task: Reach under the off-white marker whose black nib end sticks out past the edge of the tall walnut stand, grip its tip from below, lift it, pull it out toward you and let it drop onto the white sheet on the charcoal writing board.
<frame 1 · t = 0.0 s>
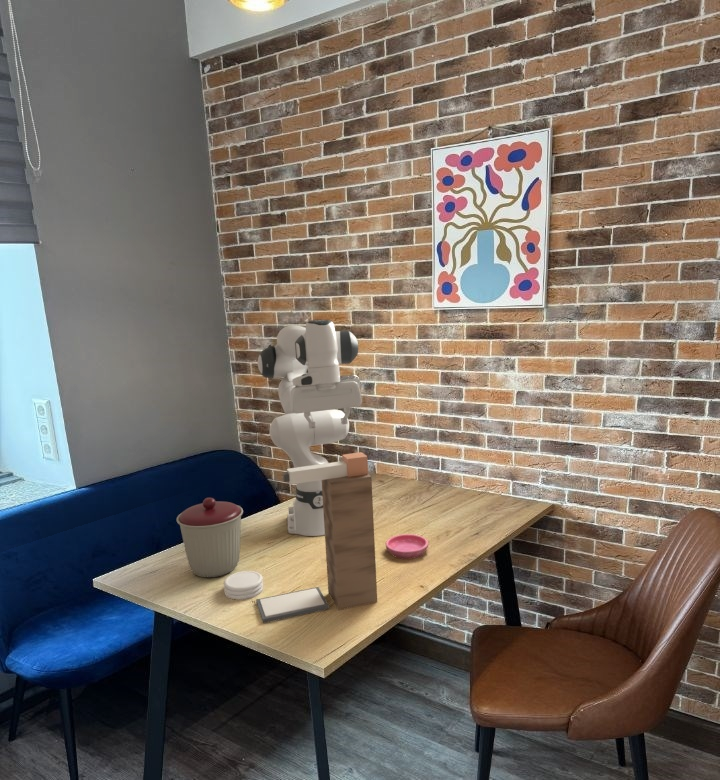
hand: (328, 426, 167), 39 cm above the table, tool pointing down, fingers open, 8 cm apart
walnut stand: (352, 597, 149), on the table
marker: (345, 474, 144), point 32 cm above the table, touching walnut stand
saucer: (407, 552, 174), on the table
writing board: (292, 606, 146), on the table
coaster: (244, 592, 155), on the table
canister: (215, 570, 168), on the table
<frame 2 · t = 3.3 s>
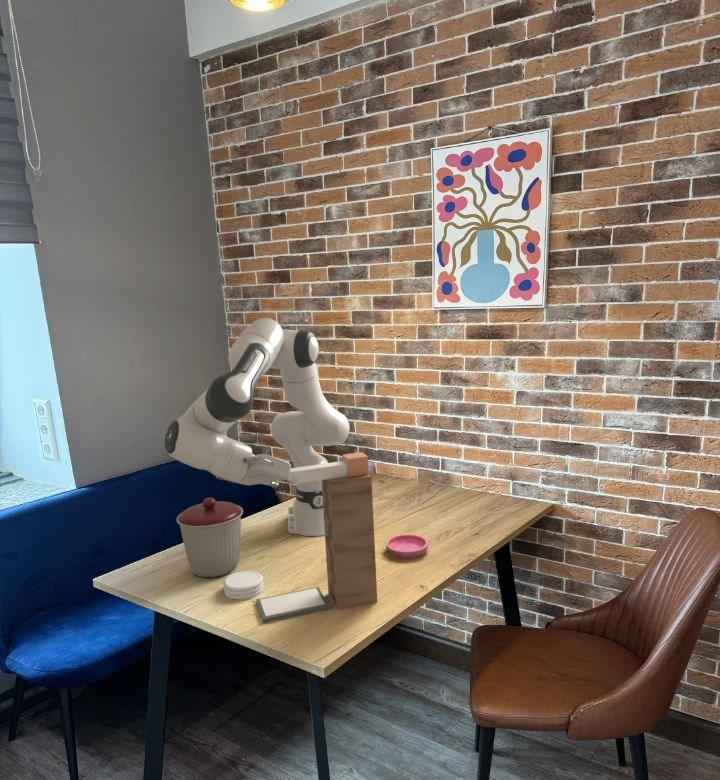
hand: (286, 482, 140), 32 cm above the table, tool tilted 60°, fingers open, 8 cm apart
nothing on the table moved.
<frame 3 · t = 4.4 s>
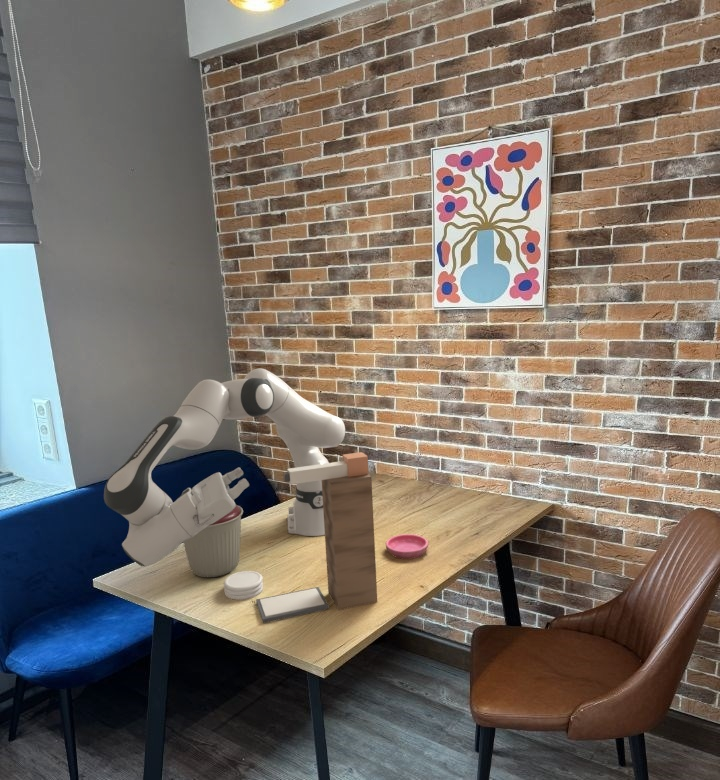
hand: (244, 475, 136), 35 cm above the table, tool pointing upward, fingers open, 8 cm apart
nothing on the table moved.
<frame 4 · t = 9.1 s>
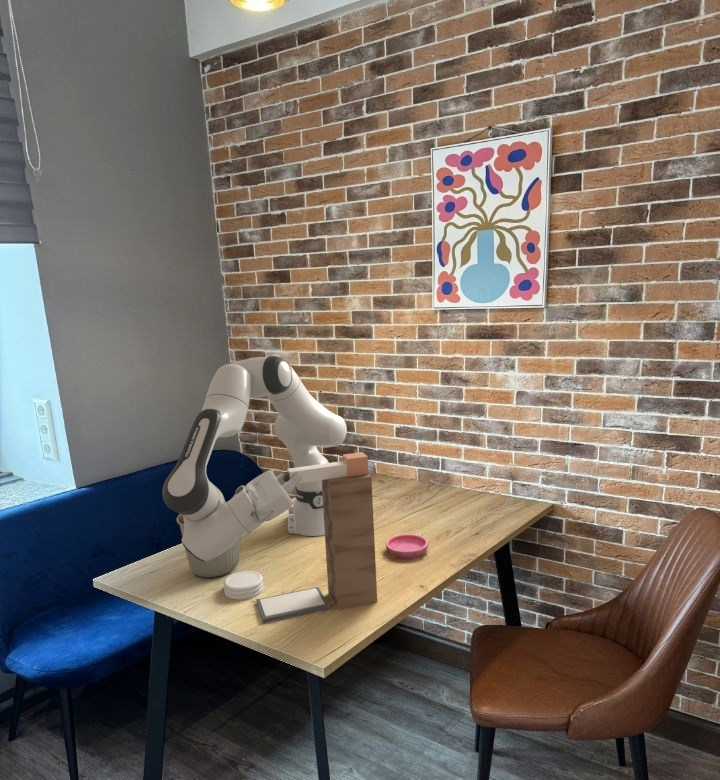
hand: (297, 473, 140), 34 cm above the table, tool pointing upward, fingers closed on marker, 3 cm apart
marker: (346, 474, 144), point 32 cm above the table, touching gripper, walnut stand
everything else where it was.
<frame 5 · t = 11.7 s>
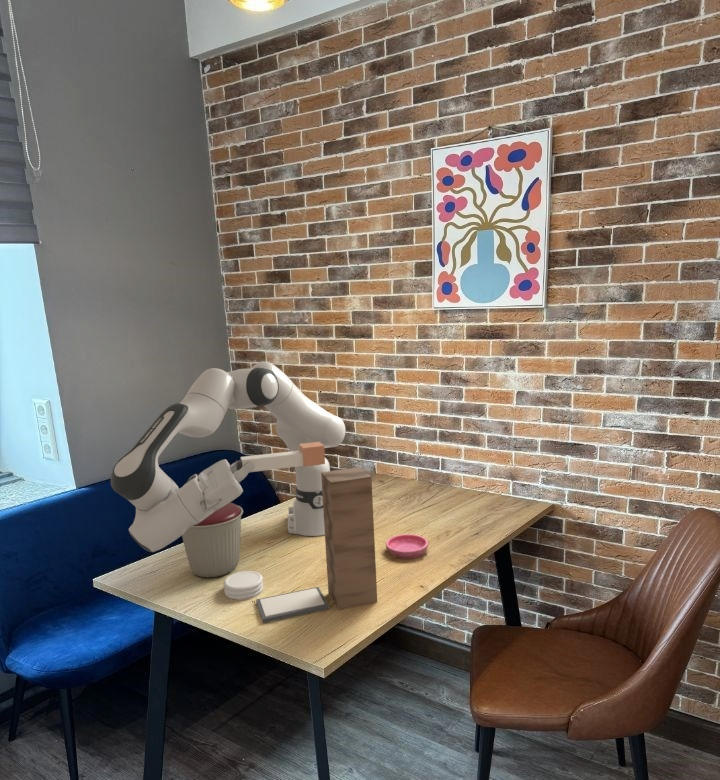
hand: (251, 461, 136), 38 cm above the table, tool pointing upward, fingers closed on marker, 3 cm apart
marker: (302, 464, 140), point 36 cm above the table, touching gripper
everything else where it was.
when the fingers open (29 cm above the table, at t = 14.5 s): marker drops 26 cm, resting on writing board.
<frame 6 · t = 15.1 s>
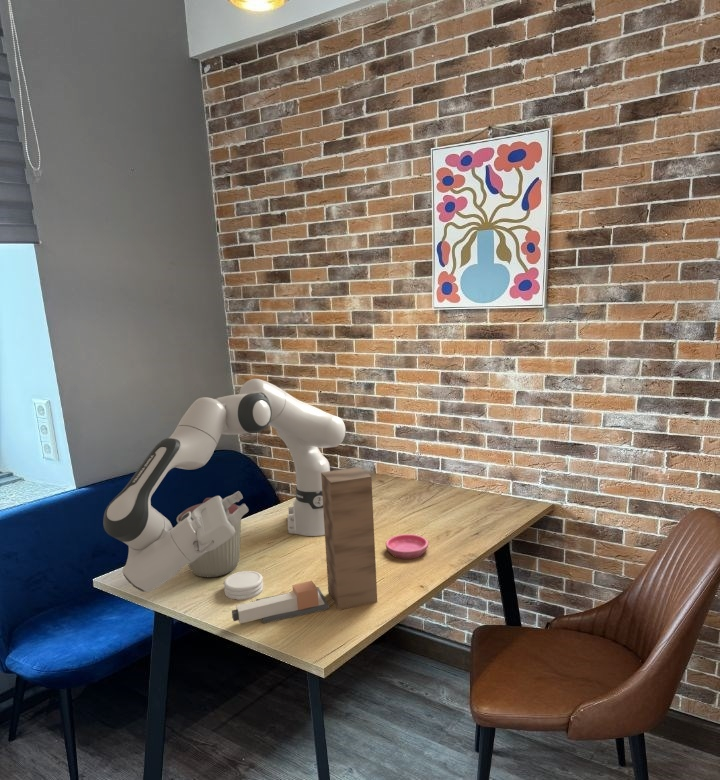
hand: (243, 500, 136), 29 cm above the table, tool pointing upward, fingers open, 8 cm apart
marker: (296, 606, 143), point 1 cm above the table, touching writing board
everything else where it was.
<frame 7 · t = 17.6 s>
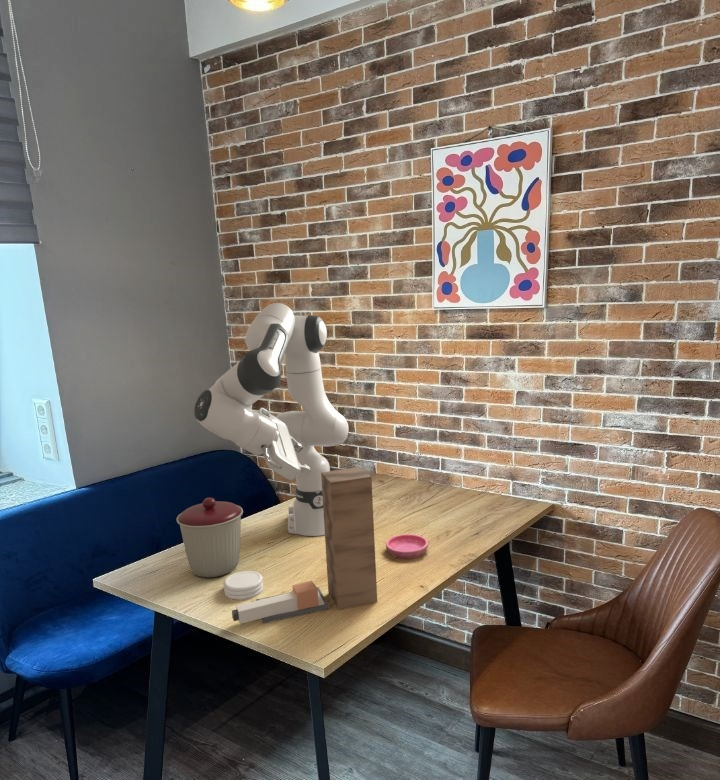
hand: (304, 459, 145), 36 cm above the table, tool tilted 55°, fingers open, 8 cm apart
nothing on the table moved.
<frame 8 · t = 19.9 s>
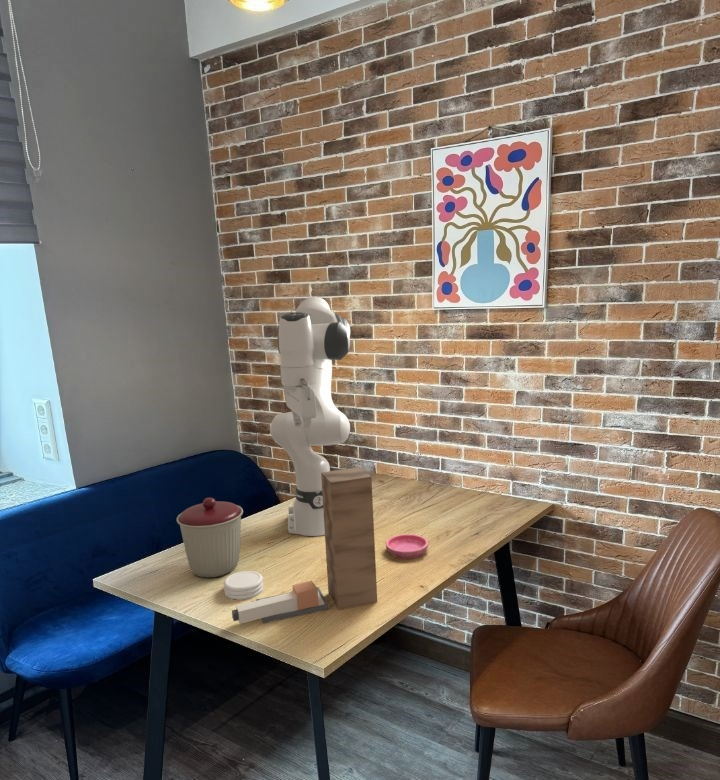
hand: (302, 429, 153), 41 cm above the table, tool pointing down, fingers open, 8 cm apart
nothing on the table moved.
at the end: marker inside the target area (1.2 cm from its centre), point 1.2 cm above the table; marker touching writing board; the gripper is holding nothing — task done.
